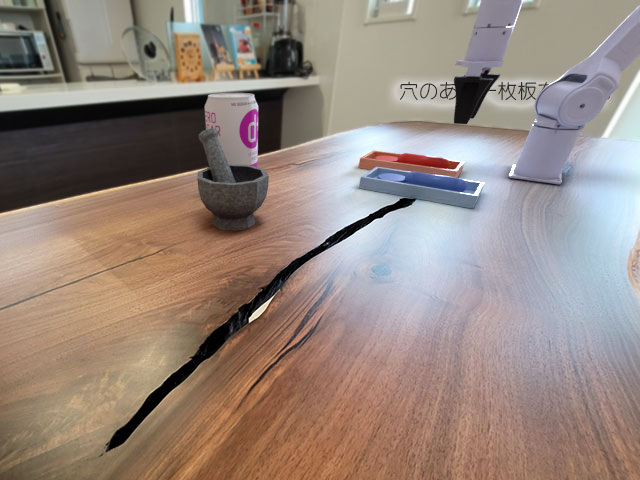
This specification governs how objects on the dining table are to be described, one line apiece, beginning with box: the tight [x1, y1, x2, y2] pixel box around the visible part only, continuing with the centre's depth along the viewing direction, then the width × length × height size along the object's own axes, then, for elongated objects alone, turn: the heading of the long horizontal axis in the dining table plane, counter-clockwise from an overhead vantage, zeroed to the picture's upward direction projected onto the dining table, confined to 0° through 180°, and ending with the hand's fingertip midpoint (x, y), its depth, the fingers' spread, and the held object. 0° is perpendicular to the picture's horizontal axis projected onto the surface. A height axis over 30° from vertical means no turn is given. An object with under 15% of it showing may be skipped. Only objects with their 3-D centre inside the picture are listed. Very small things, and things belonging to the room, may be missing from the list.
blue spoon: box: [377, 172, 467, 193], centre depth 61 cm, size 14×5×3 cm, turn 54°
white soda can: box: [204, 92, 259, 168], centre depth 58 cm, size 8×8×15 cm
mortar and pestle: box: [197, 128, 270, 232], centre depth 49 cm, size 11×9×12 cm
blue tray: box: [358, 167, 485, 209], centre depth 62 cm, size 8×18×2 cm, turn 54°
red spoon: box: [375, 152, 450, 169], centre depth 72 cm, size 14×5×3 cm, turn 54°
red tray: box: [357, 150, 465, 178], centre depth 73 cm, size 8×18×2 cm, turn 54°
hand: (464, 120), depth 66 cm, fingers open, 7 cm apart
